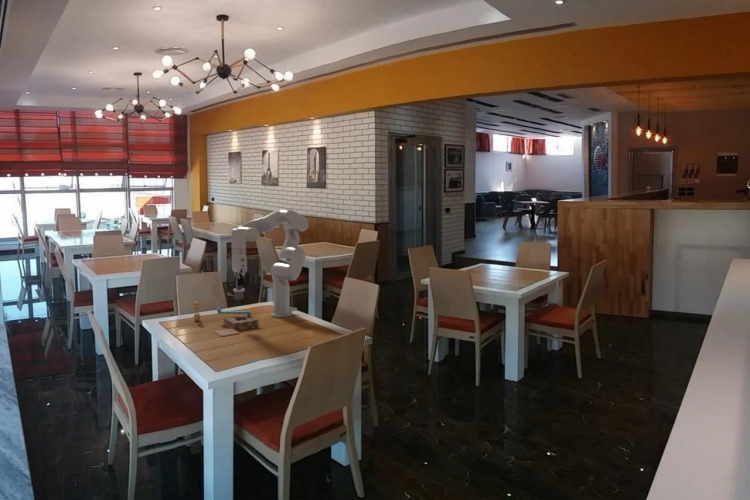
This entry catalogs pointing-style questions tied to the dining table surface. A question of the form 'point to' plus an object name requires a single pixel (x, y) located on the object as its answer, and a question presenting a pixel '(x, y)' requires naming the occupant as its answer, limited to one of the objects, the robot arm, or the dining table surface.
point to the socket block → (241, 322)
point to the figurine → (196, 316)
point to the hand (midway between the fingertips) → (239, 284)
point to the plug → (238, 289)
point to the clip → (232, 312)
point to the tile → (226, 332)
